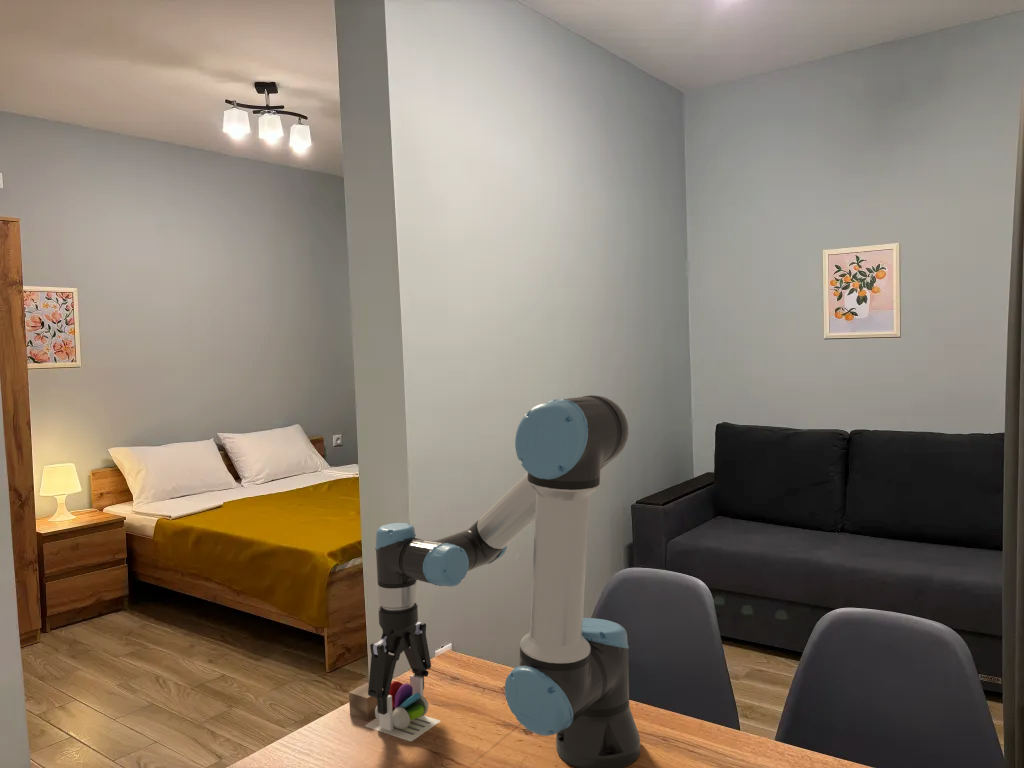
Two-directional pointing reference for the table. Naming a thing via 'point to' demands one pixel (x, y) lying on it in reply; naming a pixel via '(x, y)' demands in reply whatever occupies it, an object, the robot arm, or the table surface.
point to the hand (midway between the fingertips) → (402, 717)
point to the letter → (407, 728)
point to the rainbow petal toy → (405, 704)
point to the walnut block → (362, 703)
